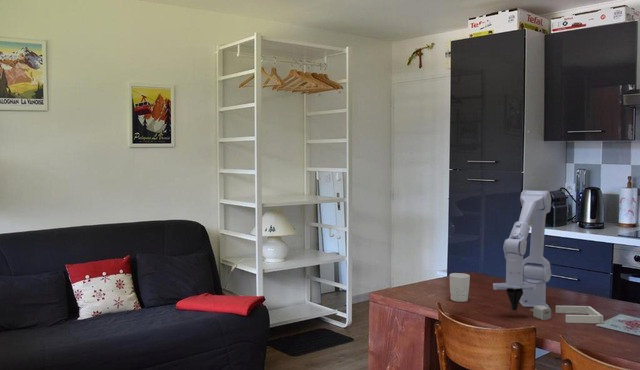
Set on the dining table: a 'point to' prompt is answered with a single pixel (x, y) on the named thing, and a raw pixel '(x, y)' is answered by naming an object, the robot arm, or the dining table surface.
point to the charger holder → (591, 318)
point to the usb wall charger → (541, 312)
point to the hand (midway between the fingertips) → (514, 309)
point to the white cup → (459, 286)
